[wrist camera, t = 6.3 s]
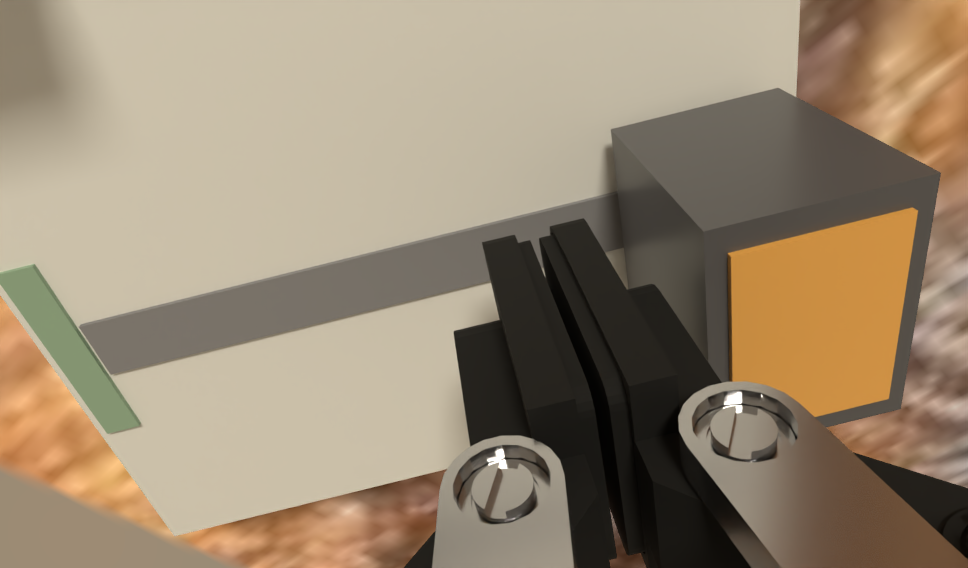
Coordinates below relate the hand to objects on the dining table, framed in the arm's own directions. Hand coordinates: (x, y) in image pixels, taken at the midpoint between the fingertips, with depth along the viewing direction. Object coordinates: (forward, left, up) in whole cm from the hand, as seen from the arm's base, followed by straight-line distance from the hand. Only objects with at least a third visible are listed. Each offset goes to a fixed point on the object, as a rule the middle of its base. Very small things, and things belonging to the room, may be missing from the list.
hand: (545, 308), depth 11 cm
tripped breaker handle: (-3, 0, -2) cm, 4 cm away
